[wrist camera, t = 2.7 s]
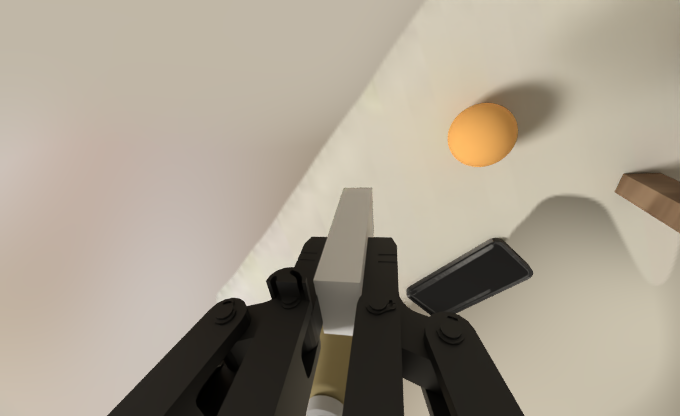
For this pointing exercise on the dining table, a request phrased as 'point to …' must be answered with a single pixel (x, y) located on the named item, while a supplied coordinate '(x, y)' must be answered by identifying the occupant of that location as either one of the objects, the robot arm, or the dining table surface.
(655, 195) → the bridge
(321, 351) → the squeeze bottle
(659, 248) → the dining table surface
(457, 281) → the phone
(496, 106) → the ball
